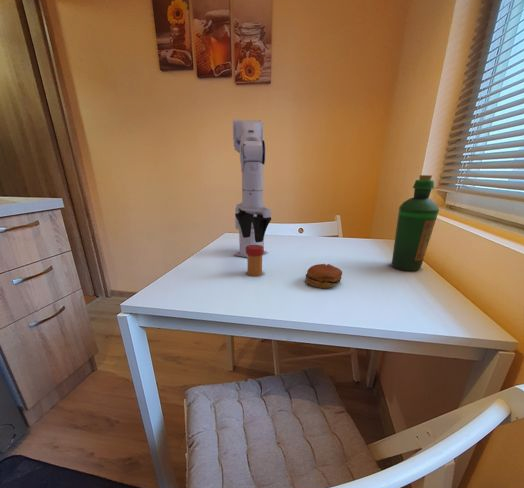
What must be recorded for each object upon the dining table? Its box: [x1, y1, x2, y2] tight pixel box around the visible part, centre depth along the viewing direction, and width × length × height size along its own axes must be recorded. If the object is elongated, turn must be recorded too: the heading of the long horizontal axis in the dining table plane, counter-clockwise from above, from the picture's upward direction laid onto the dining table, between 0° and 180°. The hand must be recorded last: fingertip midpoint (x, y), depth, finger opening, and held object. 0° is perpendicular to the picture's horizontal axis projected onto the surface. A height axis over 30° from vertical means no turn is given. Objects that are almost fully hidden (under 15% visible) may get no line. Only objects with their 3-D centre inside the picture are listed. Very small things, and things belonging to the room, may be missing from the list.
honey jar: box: [246, 254, 263, 277], centre depth 82 cm, size 4×4×8 cm
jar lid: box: [246, 245, 265, 256], centre depth 81 cm, size 5×5×2 cm
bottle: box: [391, 174, 440, 272], centre depth 85 cm, size 11×11×28 cm
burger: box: [305, 263, 343, 289], centre depth 77 cm, size 10×9×5 cm
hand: (252, 239), depth 81 cm, fingers open, 6 cm apart
